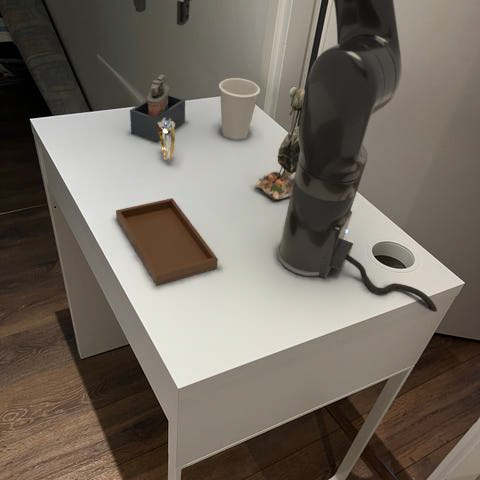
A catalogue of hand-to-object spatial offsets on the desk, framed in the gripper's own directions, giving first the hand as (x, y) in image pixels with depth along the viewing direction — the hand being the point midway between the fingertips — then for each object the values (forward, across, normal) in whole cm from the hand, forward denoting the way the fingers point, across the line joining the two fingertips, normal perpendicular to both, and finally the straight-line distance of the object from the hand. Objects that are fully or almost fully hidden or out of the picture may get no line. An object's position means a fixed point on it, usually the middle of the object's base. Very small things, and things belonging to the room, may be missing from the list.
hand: (161, 17), depth 89 cm
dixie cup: (+22, +12, +10) cm, 27 cm away
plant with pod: (+22, +29, -3) cm, 37 cm away
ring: (+22, +6, -8) cm, 24 cm away
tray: (+22, +20, -30) cm, 42 cm away
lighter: (+22, -2, +2) cm, 22 cm away
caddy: (+22, -2, +2) cm, 22 cm away
